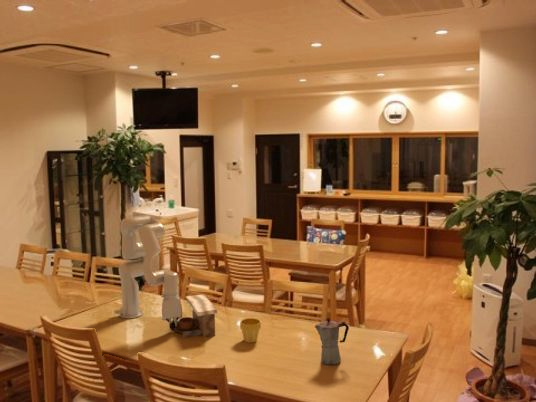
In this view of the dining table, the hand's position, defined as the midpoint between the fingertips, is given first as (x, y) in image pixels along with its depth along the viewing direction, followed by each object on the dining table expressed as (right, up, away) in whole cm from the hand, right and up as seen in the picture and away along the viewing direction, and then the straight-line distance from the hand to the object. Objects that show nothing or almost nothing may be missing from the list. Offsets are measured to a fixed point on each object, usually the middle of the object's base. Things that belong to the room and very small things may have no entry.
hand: (172, 329), depth 265 cm
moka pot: (+79, -5, -37) cm, 87 cm away
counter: (+11, -1, +5) cm, 12 cm away
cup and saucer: (+7, -2, +3) cm, 8 cm away
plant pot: (+42, -3, -12) cm, 43 cm away
